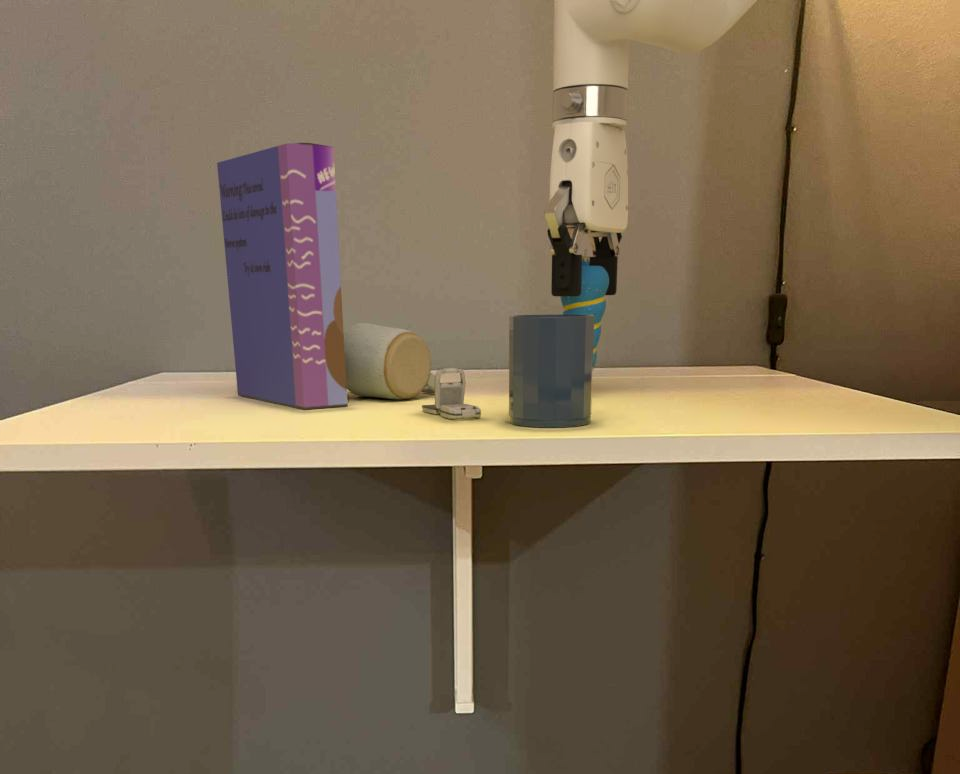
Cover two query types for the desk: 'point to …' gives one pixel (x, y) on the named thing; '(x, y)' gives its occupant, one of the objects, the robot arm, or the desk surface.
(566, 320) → the cup
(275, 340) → the cereal box
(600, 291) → the ornament
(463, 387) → the strap clip
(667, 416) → the desk surface
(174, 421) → the desk surface
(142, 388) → the desk surface
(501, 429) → the desk surface
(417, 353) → the ceramic mug
